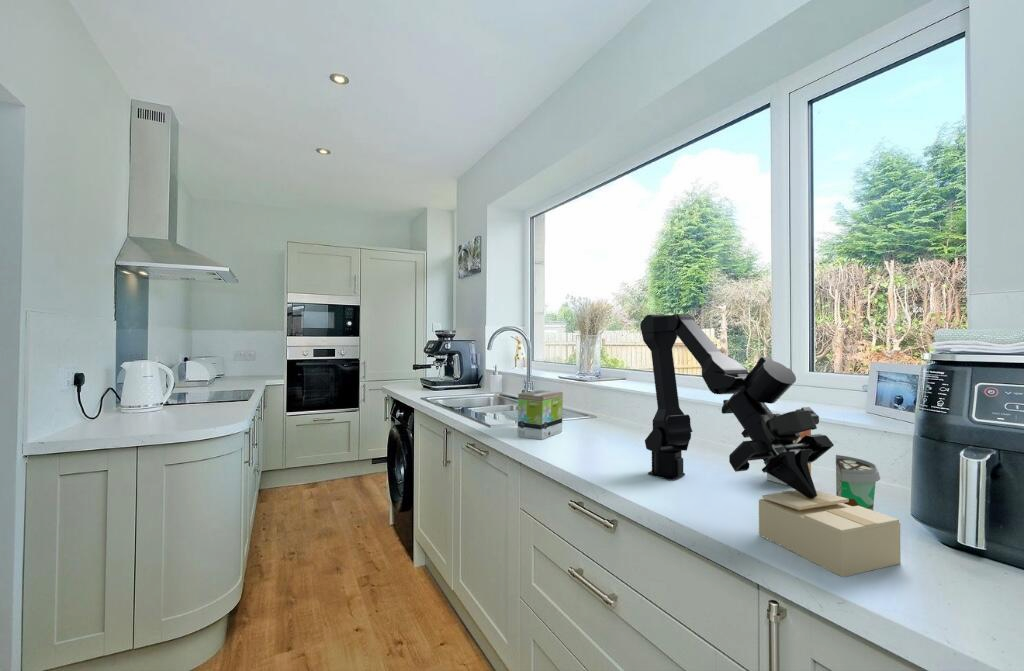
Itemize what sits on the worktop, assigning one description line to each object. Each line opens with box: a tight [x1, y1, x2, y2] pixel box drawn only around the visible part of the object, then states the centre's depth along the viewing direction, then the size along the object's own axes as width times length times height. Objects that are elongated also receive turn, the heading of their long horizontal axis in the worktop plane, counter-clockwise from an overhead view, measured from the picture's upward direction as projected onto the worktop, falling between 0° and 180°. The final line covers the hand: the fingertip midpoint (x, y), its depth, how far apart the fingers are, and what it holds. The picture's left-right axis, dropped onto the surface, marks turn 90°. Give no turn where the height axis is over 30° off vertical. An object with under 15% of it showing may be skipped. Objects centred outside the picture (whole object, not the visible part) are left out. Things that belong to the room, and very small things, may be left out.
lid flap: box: [761, 489, 849, 510], centre depth 74 cm, size 7×11×1 cm, turn 108°
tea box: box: [517, 389, 564, 441], centre depth 155 cm, size 15×10×15 cm, turn 147°
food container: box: [835, 454, 881, 511], centre depth 83 cm, size 12×6×10 cm, turn 148°
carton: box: [758, 498, 902, 578], centre depth 71 cm, size 14×12×7 cm
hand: (813, 497), depth 73 cm, fingers closed, pressing on lid flap
